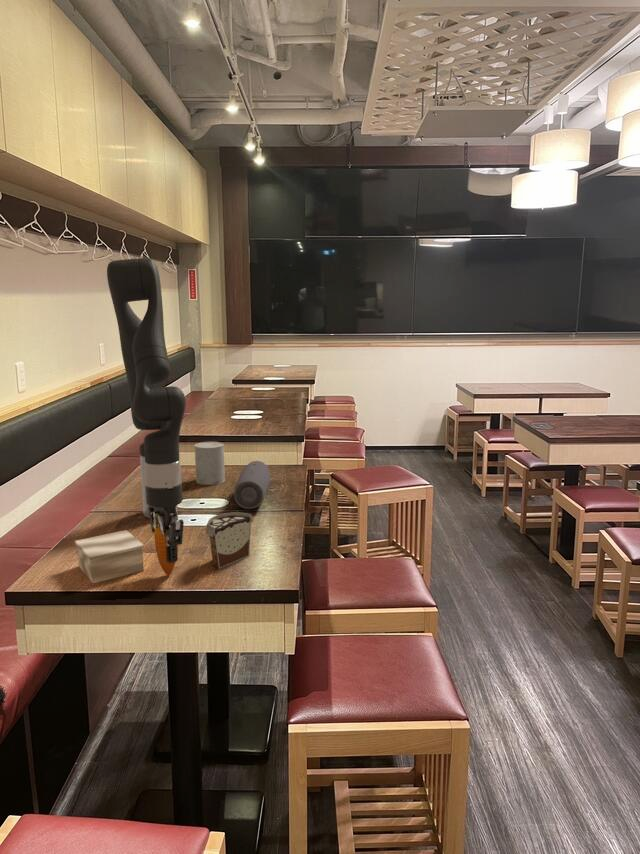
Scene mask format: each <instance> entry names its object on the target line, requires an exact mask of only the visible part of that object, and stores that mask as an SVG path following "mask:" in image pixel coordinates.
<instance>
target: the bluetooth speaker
mask: <svg viewBox="0 0 640 854" xmlns="http://www.w3.org/2000/svg"><path fill="white" fill-rule="evenodd" d="M270 480H271V472H270V468H269V467H268V465H267V464H265V462H263V461H260V460H254V461H251V462H249V463H248V464H246V465H245V466H244V468H243V469H242V470H241V473H240V474H239V476H238V479H237V481H236V483H235V487H234V489H233V490H234V491H233V498H234V501H235V502H236V505H238V506H239V507H241V508H242V509H246V510H253V509H256V508H257V507H259V506H260V505H261V504H262V503H263V501H264V499H265V497H266V495H267V494H268V490H269V487H270Z"/></svg>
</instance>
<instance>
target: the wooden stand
mask: <svg viewBox="0 0 640 854" xmlns="http://www.w3.org/2000/svg"><path fill="white" fill-rule="evenodd" d="M74 544H75V545H76V551H77V561H78V563H77V564H78V567H79V569H80V570H81V571H82V572H83V574H85V576H86V577H87V578H88V580H89V581H91V583H92V584H96V583H100V582H105V581H108V580H112V579H116V578H117V579H118V578H120V577H121V578H122V577H124V576H128V575H133V574H136V573H140V572H144V571H145V569H144V567H145V566H144V556H143V555H144V554H143V552H144V551H143V549H145V545H144V543H142V541H140V540H138V539H137V538H136V537H135V536H134V535H133V534H132V533H130V532H129V531H128V530H127V529H125V530H119V531H115V532H110V533H105V534H102V535H101V534H100V535H97V536H96V535H95V536H91V537H87V538H82V539H78V540H77V539H76V540H74Z"/></svg>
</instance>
